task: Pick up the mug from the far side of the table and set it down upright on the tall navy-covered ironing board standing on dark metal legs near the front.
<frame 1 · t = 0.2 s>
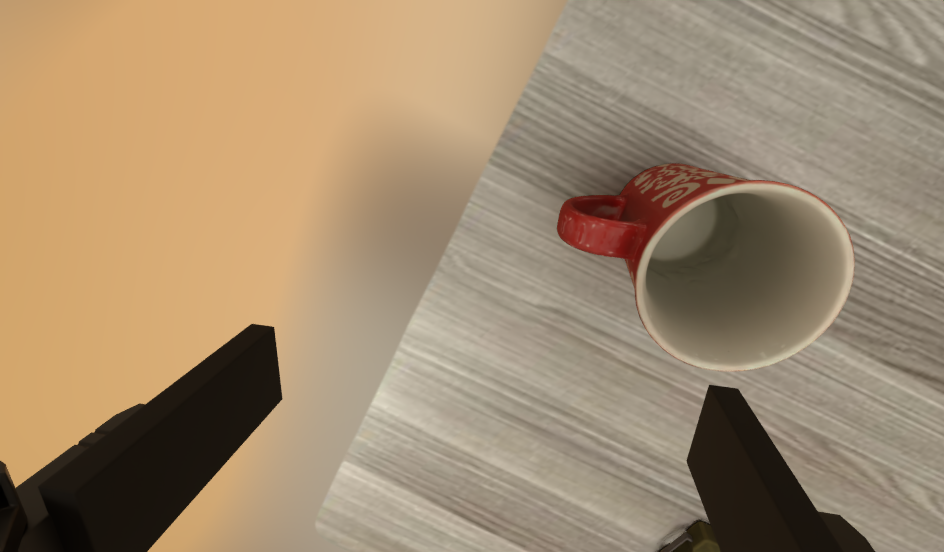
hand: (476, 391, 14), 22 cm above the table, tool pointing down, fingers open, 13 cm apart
mug: (642, 206, 33), on the table
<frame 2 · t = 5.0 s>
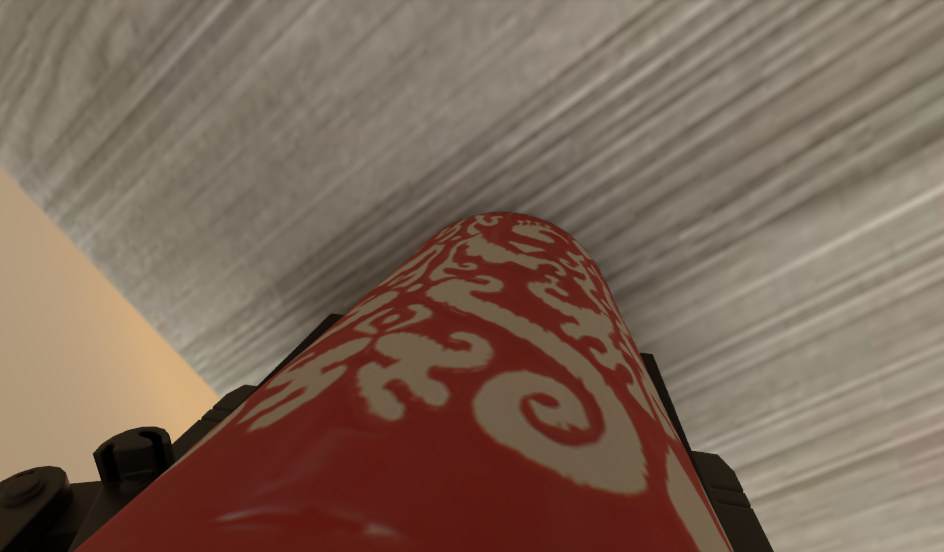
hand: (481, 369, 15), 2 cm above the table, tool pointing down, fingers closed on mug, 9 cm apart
mug: (470, 334, 17), on the table, touching gripper
when the fingers open (36 cm above the table, at t = 13.5 s): mug stays where it is, resting on ironing board.
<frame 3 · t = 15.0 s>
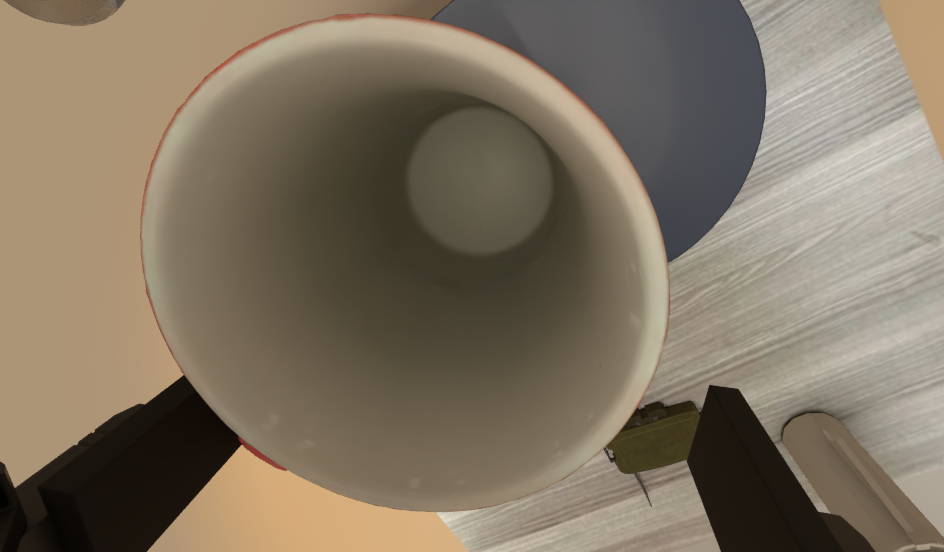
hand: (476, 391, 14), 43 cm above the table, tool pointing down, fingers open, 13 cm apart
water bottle: (807, 424, 60), on the table
ironing board: (480, 199, 20), on the table
mug: (456, 205, 21), point 34 cm above the table, touching gripper, ironing board
landmine: (660, 446, 64), on the table
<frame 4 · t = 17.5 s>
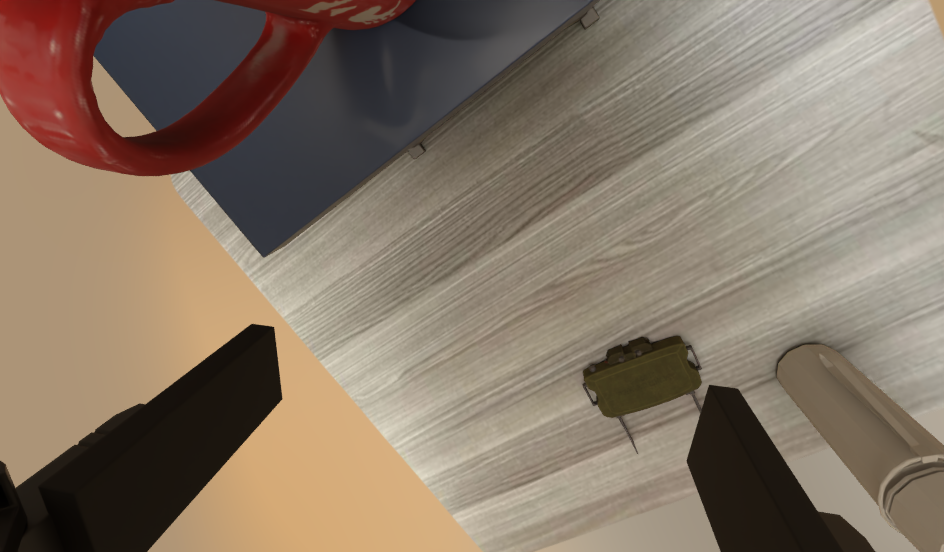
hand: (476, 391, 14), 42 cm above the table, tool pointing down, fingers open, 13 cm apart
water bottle: (804, 359, 55), on the table
landmine: (646, 388, 60), on the table
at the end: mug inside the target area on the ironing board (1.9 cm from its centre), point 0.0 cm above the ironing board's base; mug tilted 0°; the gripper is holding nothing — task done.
